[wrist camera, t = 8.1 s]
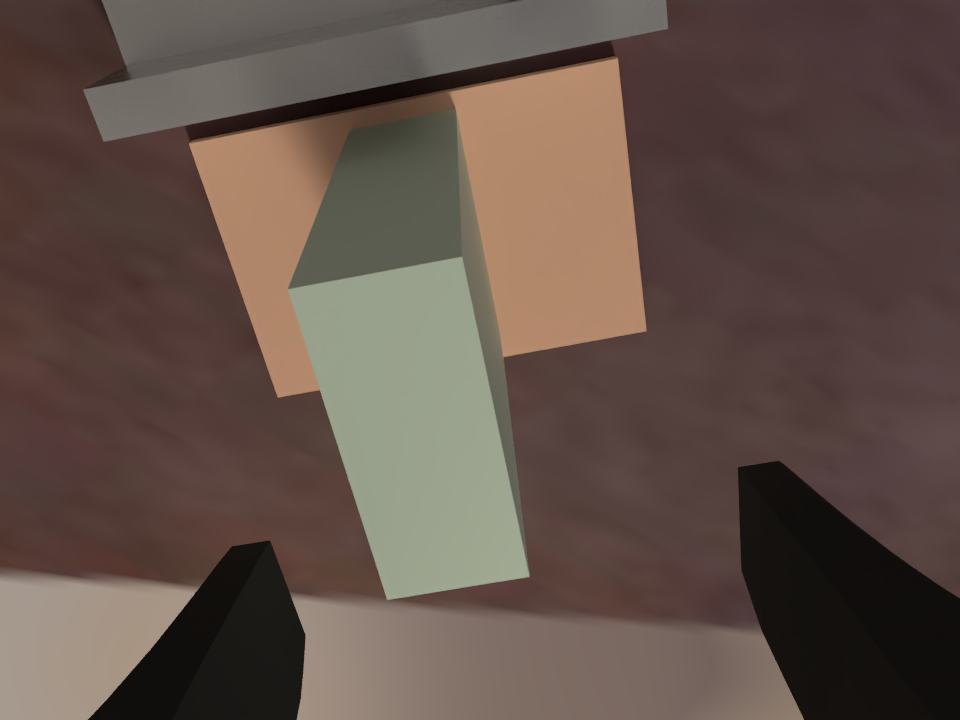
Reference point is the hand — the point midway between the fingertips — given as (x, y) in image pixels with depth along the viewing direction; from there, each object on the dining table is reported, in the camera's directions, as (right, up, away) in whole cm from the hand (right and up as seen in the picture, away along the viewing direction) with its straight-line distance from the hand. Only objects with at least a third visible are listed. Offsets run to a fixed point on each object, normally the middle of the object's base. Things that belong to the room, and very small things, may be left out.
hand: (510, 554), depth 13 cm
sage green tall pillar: (-2, +6, +8) cm, 10 cm away
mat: (-2, +6, +8) cm, 10 cm away
